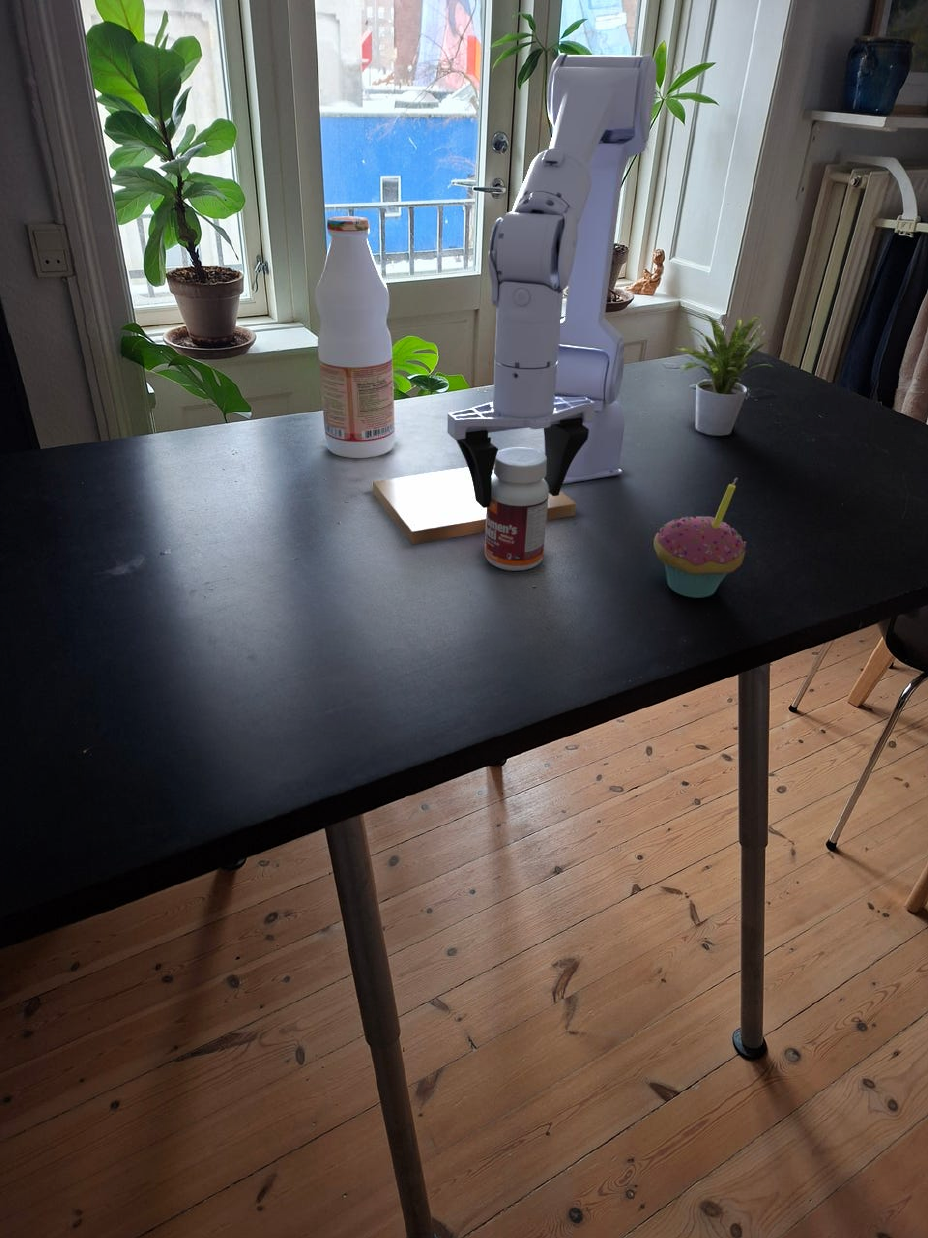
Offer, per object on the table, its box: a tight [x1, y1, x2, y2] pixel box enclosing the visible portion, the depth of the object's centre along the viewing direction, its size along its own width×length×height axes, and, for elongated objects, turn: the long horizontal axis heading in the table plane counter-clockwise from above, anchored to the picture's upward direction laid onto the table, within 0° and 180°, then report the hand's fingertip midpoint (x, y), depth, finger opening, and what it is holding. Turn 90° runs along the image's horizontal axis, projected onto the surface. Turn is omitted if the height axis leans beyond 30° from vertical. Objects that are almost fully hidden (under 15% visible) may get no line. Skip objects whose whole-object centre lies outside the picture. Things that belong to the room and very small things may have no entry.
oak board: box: [372, 466, 577, 546], centre depth 94 cm, size 20×14×2 cm
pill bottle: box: [484, 446, 549, 572], centre depth 81 cm, size 6×6×11 cm
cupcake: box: [653, 477, 747, 599], centre depth 77 cm, size 9×8×12 cm
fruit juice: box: [314, 215, 396, 459], centre depth 102 cm, size 9×9×28 cm
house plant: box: [674, 312, 775, 436], centre depth 114 cm, size 14×14×16 cm
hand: (517, 497), depth 80 cm, fingers open, 7 cm apart
